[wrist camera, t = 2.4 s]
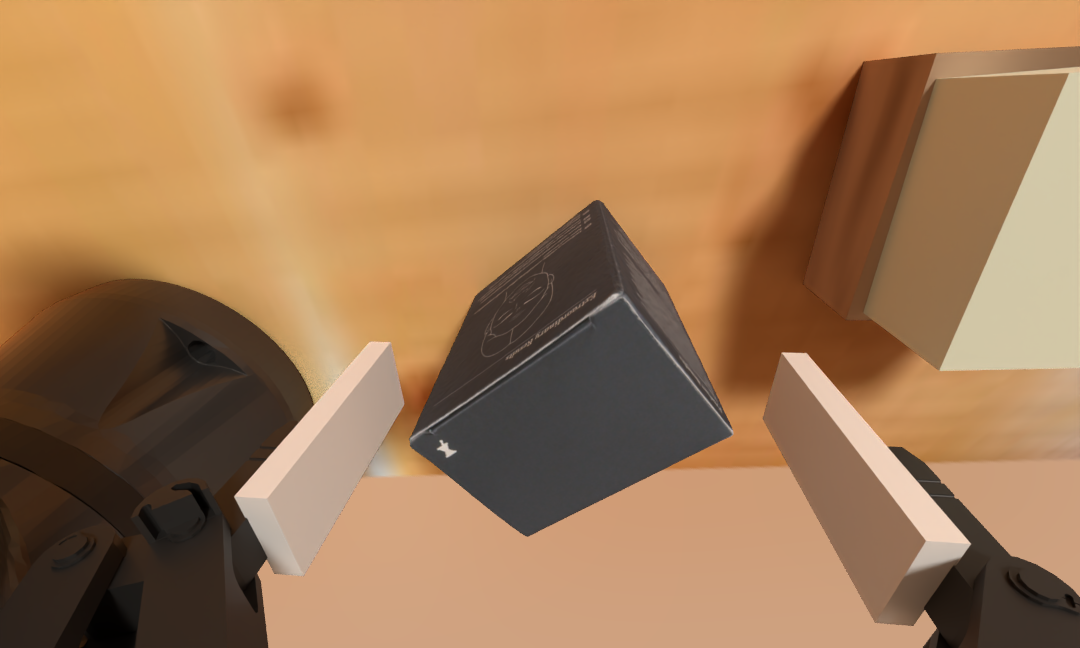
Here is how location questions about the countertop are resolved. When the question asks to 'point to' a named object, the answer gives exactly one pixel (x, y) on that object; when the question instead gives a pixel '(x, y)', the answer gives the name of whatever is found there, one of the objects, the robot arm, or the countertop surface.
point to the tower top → (989, 227)
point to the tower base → (889, 161)
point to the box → (568, 381)
